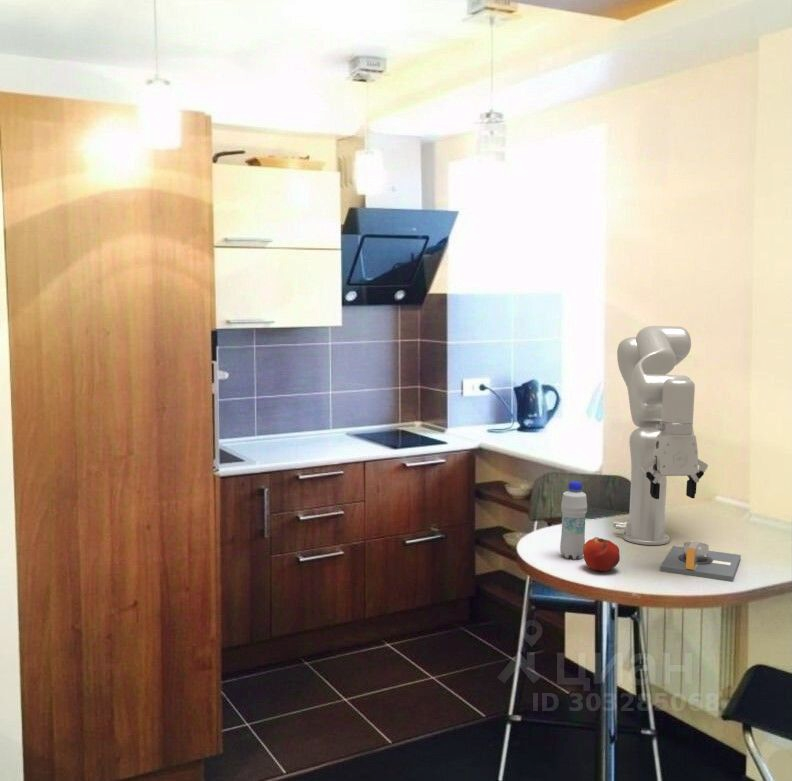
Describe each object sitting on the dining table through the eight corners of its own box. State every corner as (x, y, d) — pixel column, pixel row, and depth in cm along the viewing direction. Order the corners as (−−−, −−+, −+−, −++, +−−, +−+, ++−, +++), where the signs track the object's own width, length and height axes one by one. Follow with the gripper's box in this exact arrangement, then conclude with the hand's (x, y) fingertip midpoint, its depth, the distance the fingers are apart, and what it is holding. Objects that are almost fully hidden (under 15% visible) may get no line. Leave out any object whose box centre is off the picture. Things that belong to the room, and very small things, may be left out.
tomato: (592, 561, 235) (593, 531, 234) (625, 569, 229) (627, 538, 228) (574, 570, 228) (576, 538, 227) (608, 578, 222) (610, 546, 221)
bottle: (581, 553, 242) (585, 478, 239) (588, 560, 235) (591, 484, 233) (556, 552, 242) (559, 478, 239) (562, 560, 235) (565, 484, 233)
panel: (660, 570, 228) (660, 565, 228) (673, 550, 246) (673, 544, 246) (732, 581, 221) (732, 575, 220) (740, 559, 239) (740, 554, 238)
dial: (685, 553, 238) (686, 535, 237) (709, 557, 235) (710, 538, 234) (677, 567, 226) (678, 548, 225) (702, 571, 223) (703, 551, 223)
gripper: (650, 431, 220) (646, 502, 222) (716, 431, 223) (712, 500, 225) (636, 426, 227) (633, 494, 229) (701, 426, 230) (697, 493, 232)
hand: (672, 497), depth 227 cm, fingers open, 9 cm apart
